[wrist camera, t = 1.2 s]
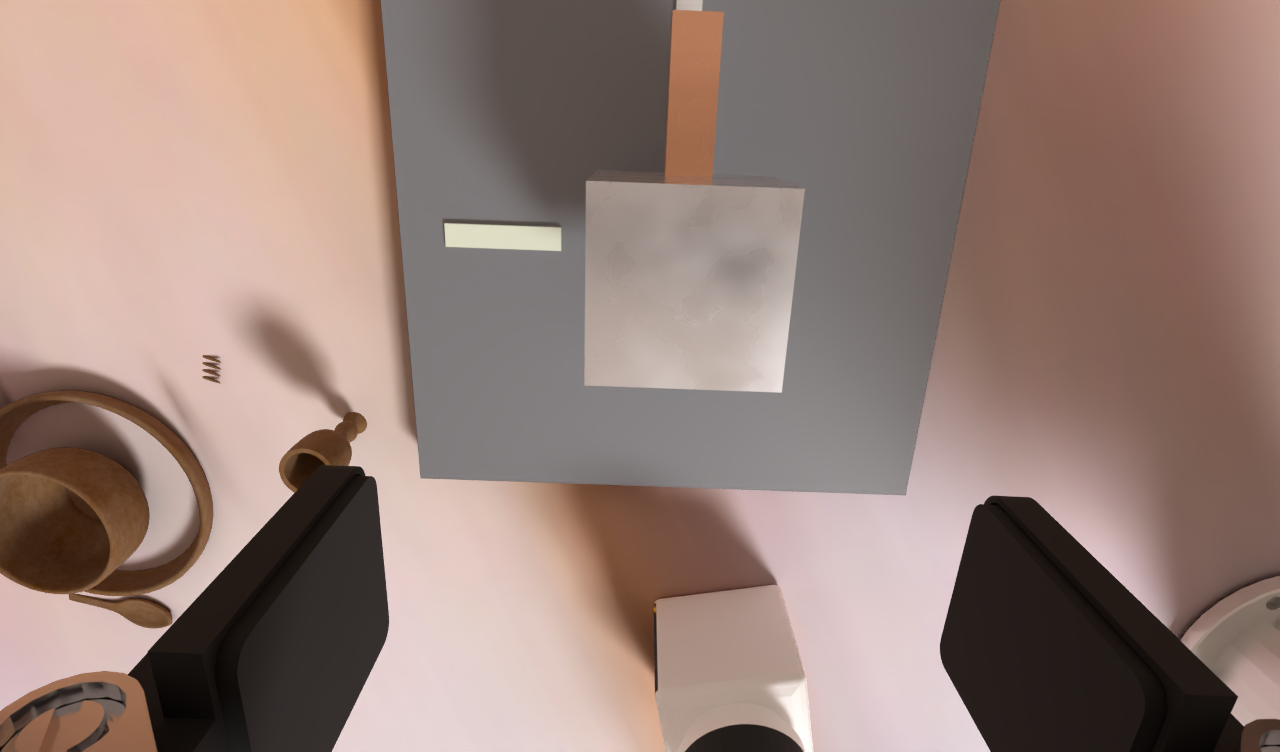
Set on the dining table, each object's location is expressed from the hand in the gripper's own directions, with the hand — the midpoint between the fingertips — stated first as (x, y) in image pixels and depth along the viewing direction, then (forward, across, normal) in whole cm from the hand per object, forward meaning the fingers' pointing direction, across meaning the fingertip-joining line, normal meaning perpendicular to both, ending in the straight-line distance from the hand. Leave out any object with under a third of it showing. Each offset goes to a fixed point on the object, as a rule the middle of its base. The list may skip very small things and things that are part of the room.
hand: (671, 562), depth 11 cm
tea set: (+24, +24, +14) cm, 37 cm away
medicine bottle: (+23, -5, +21) cm, 32 cm away
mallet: (+17, -1, -4) cm, 17 cm away
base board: (+23, -1, -2) cm, 23 cm away
